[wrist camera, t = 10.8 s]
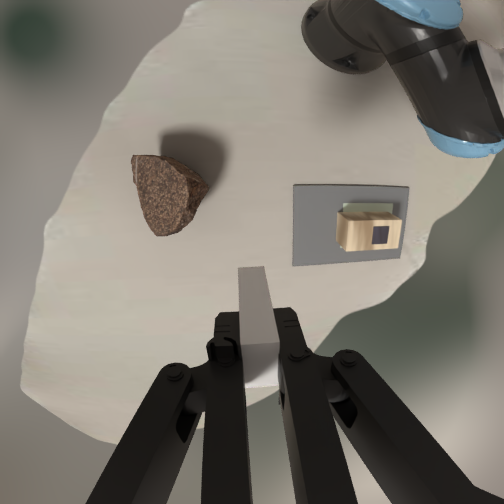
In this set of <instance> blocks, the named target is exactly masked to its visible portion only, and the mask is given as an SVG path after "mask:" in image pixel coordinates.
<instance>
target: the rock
mask: <svg viewBox="0 0 504 504" xmlns="http://www.w3.org/2000/svg"><path fill="white" fill-rule="evenodd" d="M131 164H132V171H133V182H134V183H135V184H136V186H137V190H138V195H139V199H140V203H141V208H142V210H143V215H144V218H145V220H146V222H147V224H148V226H149V227H150V229H151V230H152V231H153V232H154V234H155V235H156V236H168V235H172V234H175V233H178V232H179V231H181V230H182V229H183V228H184V227H185V226H187V225H188V224H189V223H190V222H191V221H192V220H193V218H194V216H195V214H196V211H197V208H198V207H199V205H200V202H201V200H202V199H203V198H204V196H205V194H206V193H207V192H208V190H209V187H208V185H207V184H206V183H205V182H204V181H203V180H202V179H201V177H200V176H199V175H198V174H197V173H196V172H194V171H192V170H190V169H189V168H187V166H186V165H183V164H181V163H180V162H178V161H176V160H175V159H173V158H168V157H166V156H156V155H133V157H132V160H131Z"/></svg>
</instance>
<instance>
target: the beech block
mask: <svg viewBox="0 0 504 504" xmlns="http://www.w3.org/2000/svg"><path fill="white" fill-rule="evenodd" d="M401 225H402V220H401V219H400V218H398V217H396V216H394V215H393V214H391V213H389V212H337V228H336V241H337V242H338V243H339V244H340V246H341V247H342V248H343V249H344V250H345V251H346V252H347V251H363V250H379V249H395V248H398V245H399V239H400V232H401Z"/></svg>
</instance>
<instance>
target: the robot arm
mask: <svg viewBox="0 0 504 504" xmlns="http://www.w3.org/2000/svg"><path fill="white" fill-rule="evenodd" d="M460 5H461V4H460V1H459V0H318V1H316V2H314V3H313V4H312V5H311V6H310V7H309V8H308V10H307V11H306V13H305V15H304V17H303V19H302V25H301V29H302V35H303V38H304V41H305V43H306V45H307V46H308V48H309V49H310V51H311V52H312V53H313V54H314V55H315V56H316V57H317V58H318V59H319V60H320V61H321V62H323V63H324V64H326V65H327V66H329V67H331V68H332V69H335V70H337V71H340V72H343V73H347V74H364V73H368V72H370V71H373V70H375V69H377V68H379V67H380V66H381V65H383V64H384V63H385V61H386V60H387V61H388V62H389V64H390V66H391V68H392V69H393V71H394V72H395V74H396V76H397V78H398V79H399V81H400V83H401V84H402V86H403V88H404V90H405V92H406V93H407V95H408V97H409V99H410V101H411V103H412V105H413V107H414V109H415V111H416V113H417V118H418V120H419V122H420V123H421V124H422V125H423V126H424V128H425V130H426V133H427V135H428V137H429V139H430V141H431V142H432V143H433V145H434V146H436V147H437V148H438V149H439V150H441V151H442V152H444V153H446V154H449V155H452V156H456V157H463V158H481V157H486V156H488V154H489V153H491V154H496V153H498V152H499V151H501V150H502V149H503V148H504V48H503V49H496V48H494V47H492V46H491V45H489V44H487V43H486V42H484V41H482V40H475V41H471V42H468V41H467V40H466V38H465V36H464V35H463V33H462V31H461V30H460V28H459V24H460V22H461V21H462V19H463V10H462V8H461V7H460ZM238 284H239V312H220V313H219V314H218V316H217V317H216V318H215V327H214V338H212V339H211V340H210V341H209V342H208V343H207V346H206V348H207V353H208V359H209V360H208V361H207V362H206V363H204V364H203V365H200V366H197V367H193V368H189V367H188V366H187V365H185V364H182V363H171V364H168V365H166V366H164V367H163V368H162V369H161V370H160V372H159V374H158V375H157V377H156V379H155V380H154V382H153V384H152V386H151V387H150V389H149V391H148V393H147V394H146V396H145V398H144V399H143V401H142V403H141V405H140V406H139V408H138V410H137V412H136V413H135V415H134V417H133V419H132V420H131V422H130V424H129V426H128V428H127V429H126V431H125V433H124V435H123V436H122V438H121V440H120V442H119V443H118V445H117V447H116V449H115V451H114V453H113V454H112V456H111V458H110V460H109V461H108V463H107V465H106V467H105V469H104V471H103V472H102V474H101V476H100V478H99V480H98V482H97V484H96V485H95V487H94V489H93V491H92V493H91V495H90V496H89V498H88V500H87V502H86V504H166V503H167V501H168V498H169V495H170V493H171V491H172V488H173V486H174V483H175V480H176V478H177V476H178V473H179V471H180V468H181V465H182V463H183V460H184V458H185V455H186V453H187V450H188V448H189V445H190V443H191V440H192V438H193V435H194V432H195V430H196V427H197V425H198V422H199V420H200V417H201V415H202V412H204V411H205V424H204V442H203V462H202V487H201V488H202V489H201V504H253V499H252V486H251V472H250V457H249V442H248V428H247V427H248V426H247V410H246V395H245V388H254V387H267V386H278V382H279V404H281V409H282V416H283V423H284V429H285V435H286V441H287V448H288V454H289V460H290V467H291V473H292V480H293V486H294V493H295V499H296V504H358V502H357V498H356V495H355V491H354V487H353V484H352V480H351V477H350V473H349V469H348V466H347V462H346V459H345V456H344V452H343V449H342V445H341V442H340V438H339V435H338V432H337V428H336V425H335V421H334V418H335V420H336V421H337V423H338V424H339V426H340V427H341V429H342V430H343V432H344V433H345V435H346V436H347V438H348V439H349V441H350V442H351V444H352V445H353V447H354V449H355V450H356V451H357V453H358V454H359V456H360V458H361V459H362V461H363V462H364V464H365V465H366V466H367V468H368V469H369V471H370V472H371V474H372V475H373V477H374V478H375V480H376V481H377V483H378V484H379V486H380V487H381V489H382V490H383V491H384V493H385V494H386V496H387V497H388V499H389V500H390V502H391V503H392V504H504V499H502V498H500V497H498V496H495V495H493V494H491V493H489V492H486V491H484V490H481V489H479V488H478V487H475V486H474V485H473V484H472V483H471V481H470V480H469V479H468V478H467V477H466V475H465V474H464V473H463V472H462V471H461V469H460V468H459V467H458V466H457V465H456V464H455V463H454V461H453V460H452V459H451V458H450V456H449V455H448V454H447V453H446V452H445V451H444V449H443V448H442V447H441V446H440V445H439V443H437V441H436V440H435V439H434V438H433V437H432V435H431V434H430V433H429V432H428V431H427V430H426V428H425V427H424V426H423V425H422V424H421V422H420V421H419V420H418V419H417V418H416V417H415V415H414V414H413V413H412V412H411V411H410V410H409V409H408V407H407V406H406V405H405V404H404V403H403V402H402V401H401V399H400V398H399V397H398V396H397V395H396V394H395V393H394V391H393V390H392V389H391V388H390V387H389V386H388V385H387V383H386V382H385V381H384V380H383V379H382V378H381V377H380V375H379V374H378V373H377V372H376V371H375V370H374V369H373V368H372V366H371V365H370V364H369V363H368V362H367V361H366V360H365V359H364V357H363V356H362V355H361V354H359V353H358V352H356V351H354V350H347V349H346V350H340V351H339V352H337V353H336V354H335V355H334V356H333V357H324V356H319V355H316V354H314V353H313V352H312V351H311V349H309V348H308V347H307V345H306V342H305V339H304V336H303V333H302V329H301V326H300V323H299V321H298V317H297V314H296V312H295V311H294V310H293V309H292V308H290V307H287V308H274V309H273V307H272V302H271V298H270V293H269V288H268V283H267V279H266V274H265V269H264V266H260V267H243V268H238ZM333 416H334V418H333Z"/></svg>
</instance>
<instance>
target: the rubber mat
mask: <svg viewBox="0 0 504 504" xmlns="http://www.w3.org/2000/svg"><path fill="white" fill-rule="evenodd" d="M408 197H409V188H408V187H390V186H361V185H293V264H292V265H293V266H306V265H321V264H334V263H348V262H361V261H373V260H386V259H398V258H400V255H401V250H402V244H403V237H404V231H405V223H406V216H407V207H408ZM337 212H389V213H391V214H393V215H394V216H396V217H398V218H400V219H401V220H402V225H401V232H400V239H399V245H398V248H395V249H379V250H363V251H347V252H346V251H345V250H344V249H343V248H342V247H341V246H340V244H339V243H338V242H337V241H336V228H337Z"/></svg>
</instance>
